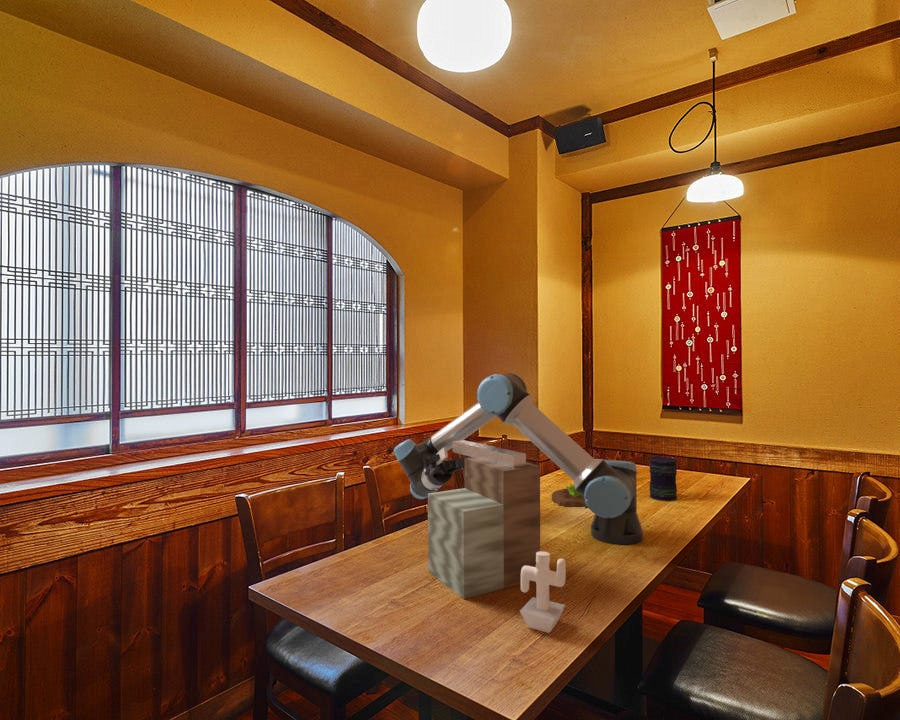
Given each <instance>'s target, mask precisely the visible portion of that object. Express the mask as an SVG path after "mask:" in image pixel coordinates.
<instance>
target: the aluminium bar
mask: <svg viewBox="0 0 900 720" xmlns="http://www.w3.org/2000/svg"><path fill="white" fill-rule="evenodd" d="M452 453H455V454H458V455H459V454H460V455H464V456H470V457H474V458H478V459H482V460H485V461H489V462H493V463H497V464H501V465H505V466H508V467H512V468H516V467H522V466H526V462H527V454H526V453H524V452H519V451H515V450H510V449H506V448H501V447H496V446H492V445H488V444H487V445H484V443H479V442H474V441H469V440H465V439H464V440H460V441H453V447H452Z"/></svg>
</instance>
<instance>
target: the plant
mask: <svg viewBox="0 0 900 720" xmlns="http://www.w3.org/2000/svg"><path fill="white" fill-rule="evenodd" d="M564 487H565V488H561V489H556V490H555V491H553V492H552V493H551V501H553V502H554V503H553V502H552V503H553V504H556V503H557V504H556V505H558V506H564V507H563V508H572V507H585V508H584V509H587V508H588V506H587V504H586V502H585V498H584V497H583V496H582V495H581V494H580V493H579V492H578V491H577V490H576V489H575V485H574V484H572V483H569V486H568V485H564Z"/></svg>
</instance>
